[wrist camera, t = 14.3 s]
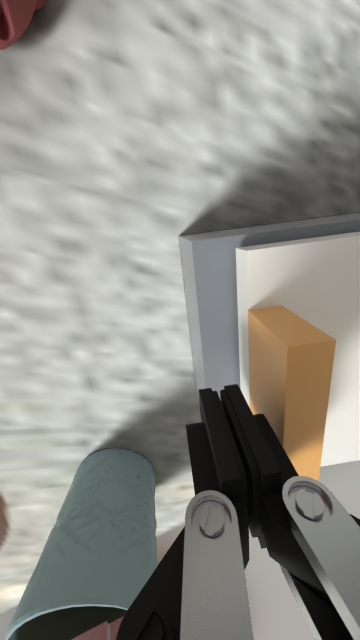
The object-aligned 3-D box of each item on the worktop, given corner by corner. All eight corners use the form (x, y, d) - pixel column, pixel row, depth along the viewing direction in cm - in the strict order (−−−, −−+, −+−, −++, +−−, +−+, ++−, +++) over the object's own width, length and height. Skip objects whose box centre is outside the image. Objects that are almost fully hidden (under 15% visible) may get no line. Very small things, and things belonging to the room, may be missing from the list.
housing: (452, 200, 19) (636, 183, 12) (412, 354, 24) (524, 410, 17) (178, 236, 19) (191, 241, 11) (195, 387, 24) (212, 460, 16)
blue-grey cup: (106, 517, 29) (74, 695, 18) (47, 469, 26) (-39, 652, 15) (177, 480, 28) (190, 647, 17) (125, 424, 25) (97, 588, 13)
